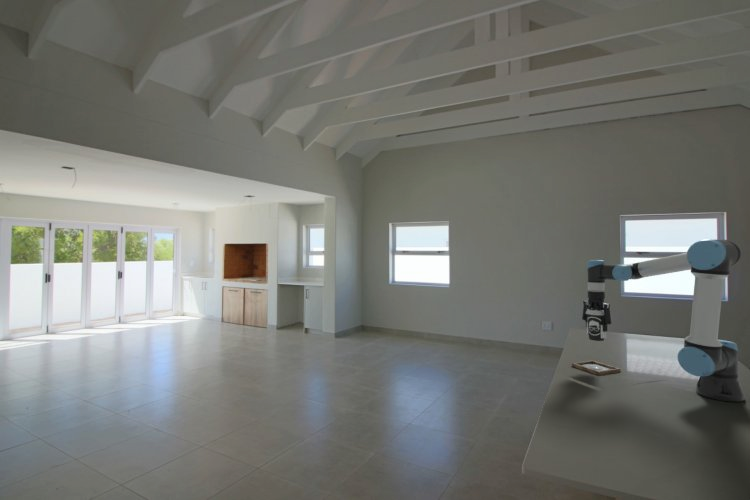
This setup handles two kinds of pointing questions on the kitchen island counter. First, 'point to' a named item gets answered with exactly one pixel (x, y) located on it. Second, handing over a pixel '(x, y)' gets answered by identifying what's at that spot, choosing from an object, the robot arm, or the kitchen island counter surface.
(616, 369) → the tray
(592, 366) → the saucer
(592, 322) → the coffee cup
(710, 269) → the robot arm
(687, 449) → the kitchen island counter surface
